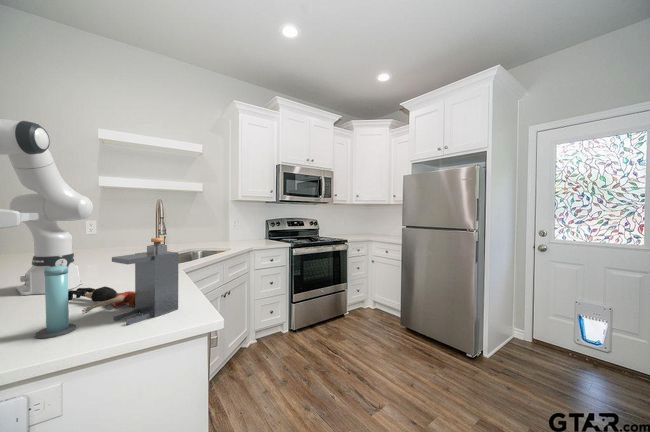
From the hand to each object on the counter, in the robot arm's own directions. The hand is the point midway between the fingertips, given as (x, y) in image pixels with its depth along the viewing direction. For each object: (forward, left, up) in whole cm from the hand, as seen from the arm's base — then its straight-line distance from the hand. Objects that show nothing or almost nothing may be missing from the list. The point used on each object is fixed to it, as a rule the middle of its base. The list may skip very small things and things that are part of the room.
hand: (28, 214), depth 73 cm
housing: (+15, +21, -32) cm, 41 cm away
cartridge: (+6, +4, -31) cm, 32 cm away
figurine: (-8, +22, -32) cm, 40 cm away
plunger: (+15, +25, -12) cm, 32 cm away
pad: (+6, +3, -32) cm, 33 cm away
